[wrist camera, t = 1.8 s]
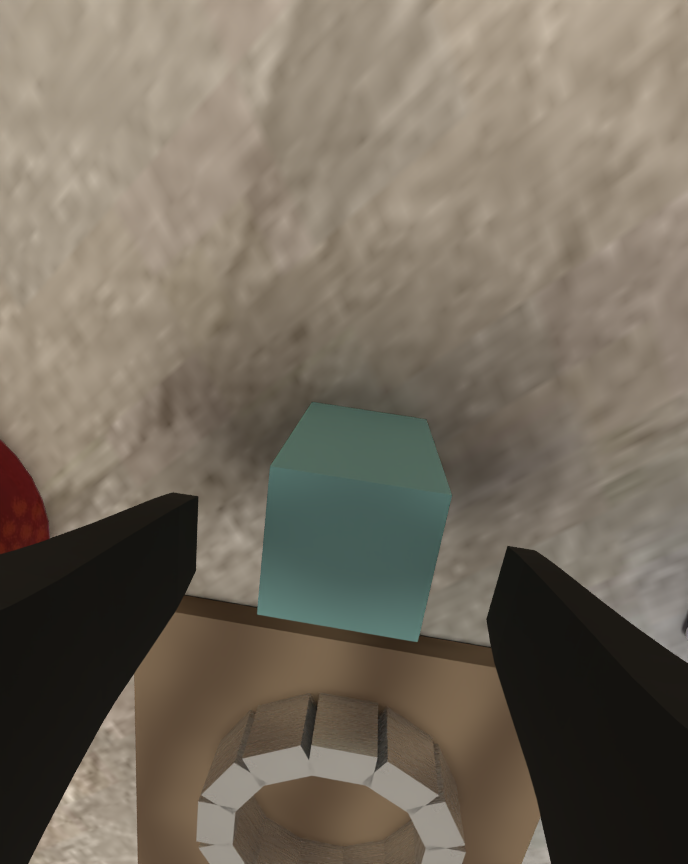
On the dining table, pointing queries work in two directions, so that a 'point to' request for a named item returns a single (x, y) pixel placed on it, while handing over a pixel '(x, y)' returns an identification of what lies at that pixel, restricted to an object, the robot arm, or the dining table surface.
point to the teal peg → (354, 522)
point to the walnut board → (317, 673)
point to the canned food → (19, 505)
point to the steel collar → (334, 759)
